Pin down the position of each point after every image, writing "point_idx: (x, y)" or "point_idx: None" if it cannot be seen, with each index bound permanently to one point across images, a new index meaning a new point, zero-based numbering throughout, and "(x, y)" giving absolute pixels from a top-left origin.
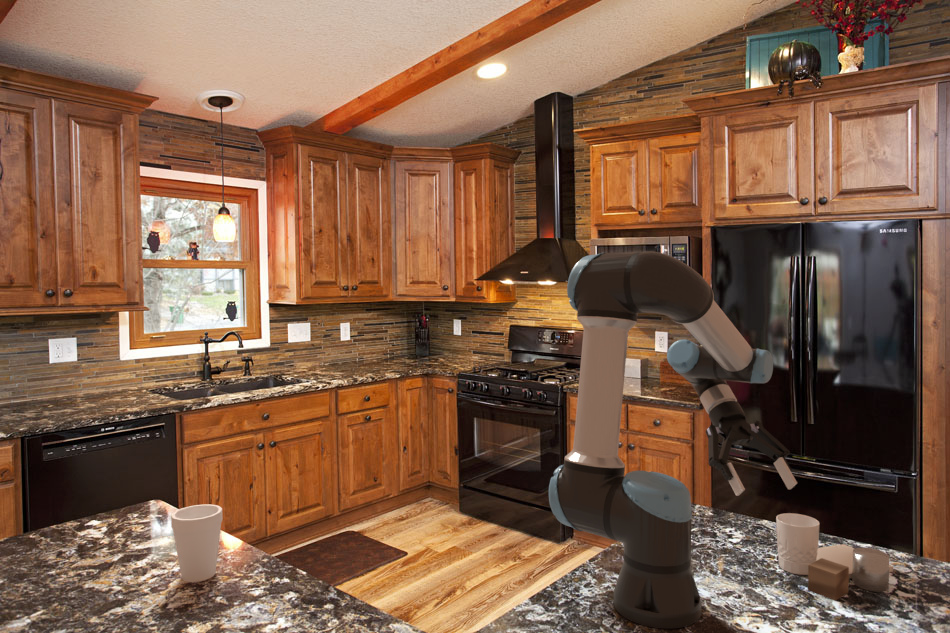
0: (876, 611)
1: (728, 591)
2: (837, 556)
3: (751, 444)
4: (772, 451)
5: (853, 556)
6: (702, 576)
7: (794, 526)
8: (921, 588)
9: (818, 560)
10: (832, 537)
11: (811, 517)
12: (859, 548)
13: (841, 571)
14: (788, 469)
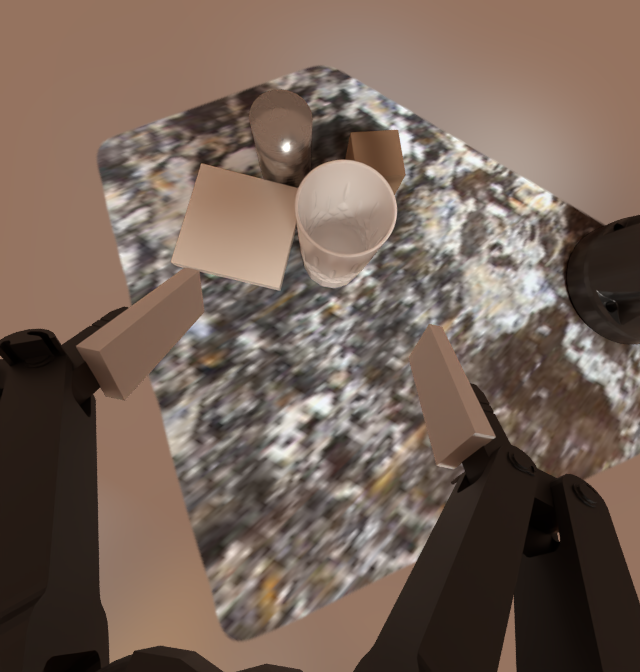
0: (363, 122)
1: (496, 264)
2: (242, 236)
3: (96, 608)
4: (67, 413)
5: (304, 145)
6: (494, 320)
7: (390, 188)
8: (232, 120)
9: None
10: None
11: (297, 199)
12: (273, 142)
13: (377, 131)
14: (148, 299)
